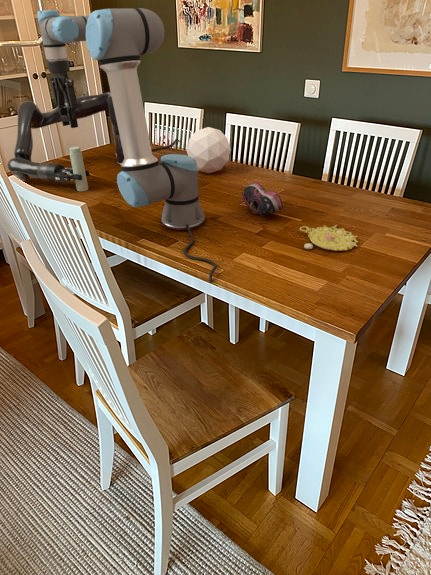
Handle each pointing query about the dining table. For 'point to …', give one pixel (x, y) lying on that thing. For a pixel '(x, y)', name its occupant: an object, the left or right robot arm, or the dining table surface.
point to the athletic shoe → (261, 200)
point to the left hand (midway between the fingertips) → (85, 175)
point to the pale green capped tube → (78, 168)
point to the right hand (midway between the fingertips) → (70, 126)
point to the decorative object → (330, 238)
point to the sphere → (209, 149)
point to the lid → (65, 117)
